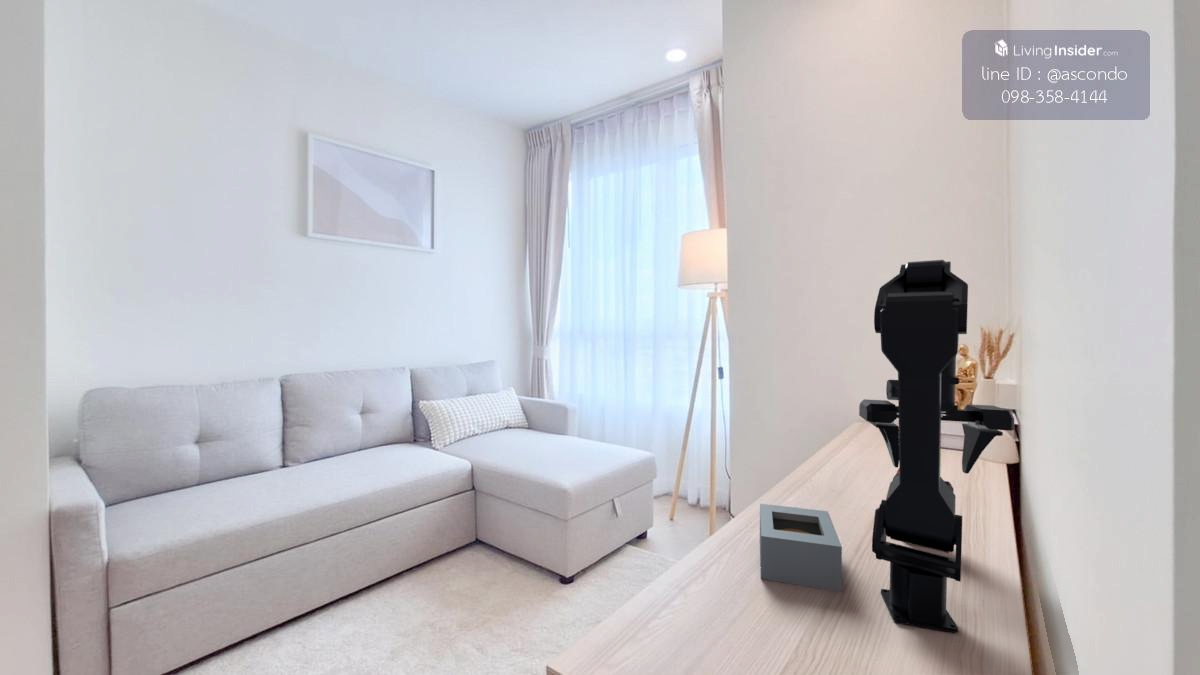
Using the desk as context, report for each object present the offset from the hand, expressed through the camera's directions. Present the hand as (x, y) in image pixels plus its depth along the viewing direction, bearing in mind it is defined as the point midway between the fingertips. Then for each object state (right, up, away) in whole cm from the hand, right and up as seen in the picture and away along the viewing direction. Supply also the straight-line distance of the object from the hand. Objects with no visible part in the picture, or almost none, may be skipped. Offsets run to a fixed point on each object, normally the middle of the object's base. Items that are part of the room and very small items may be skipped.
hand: (929, 469), depth 72 cm
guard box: (-22, -13, -3) cm, 26 cm away
